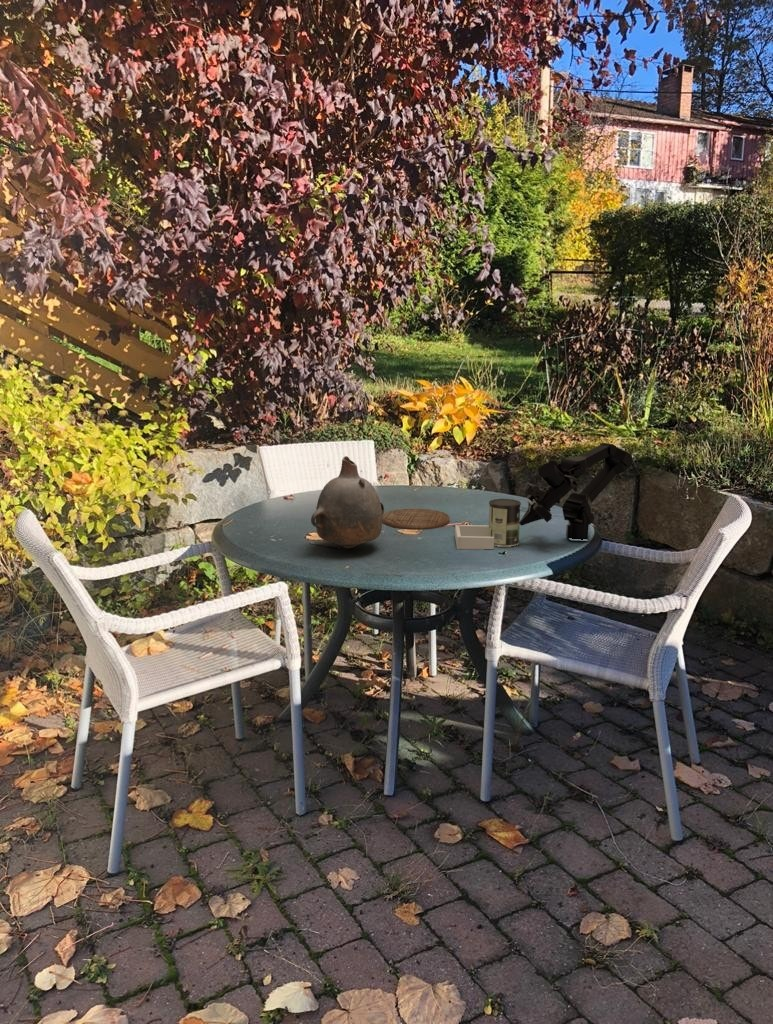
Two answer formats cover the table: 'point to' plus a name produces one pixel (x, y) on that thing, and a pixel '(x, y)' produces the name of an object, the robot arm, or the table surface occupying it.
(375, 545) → the table surface
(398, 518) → the trivet
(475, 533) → the frame
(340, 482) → the jug
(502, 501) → the coffee can
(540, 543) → the table surface
